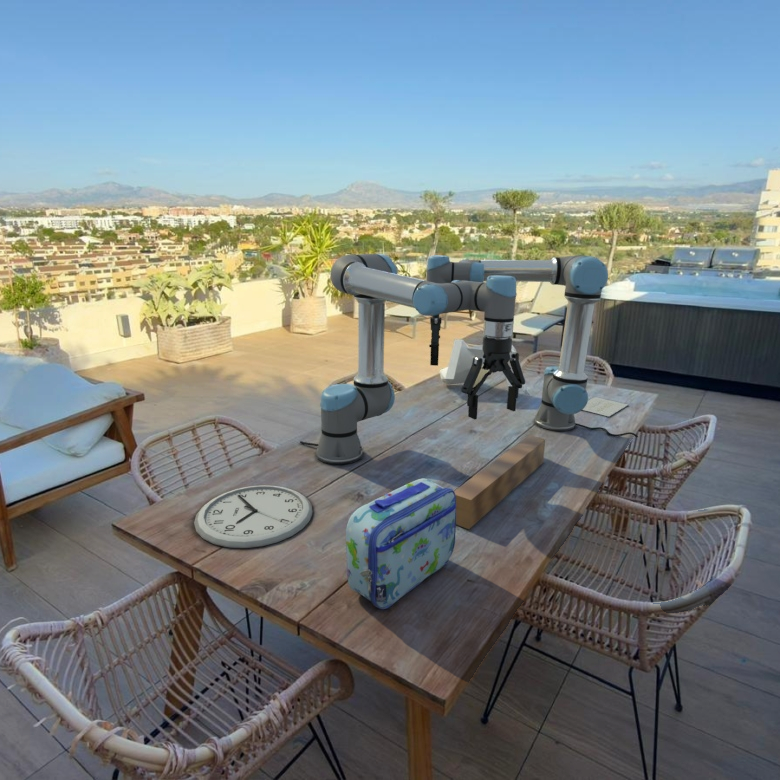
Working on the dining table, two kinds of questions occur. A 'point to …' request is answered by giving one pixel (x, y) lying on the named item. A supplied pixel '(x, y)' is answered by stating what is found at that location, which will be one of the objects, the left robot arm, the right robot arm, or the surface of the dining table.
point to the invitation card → (603, 406)
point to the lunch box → (400, 540)
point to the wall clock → (253, 516)
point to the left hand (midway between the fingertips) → (492, 413)
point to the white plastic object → (465, 364)
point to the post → (497, 480)
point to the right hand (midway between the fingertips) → (434, 360)
